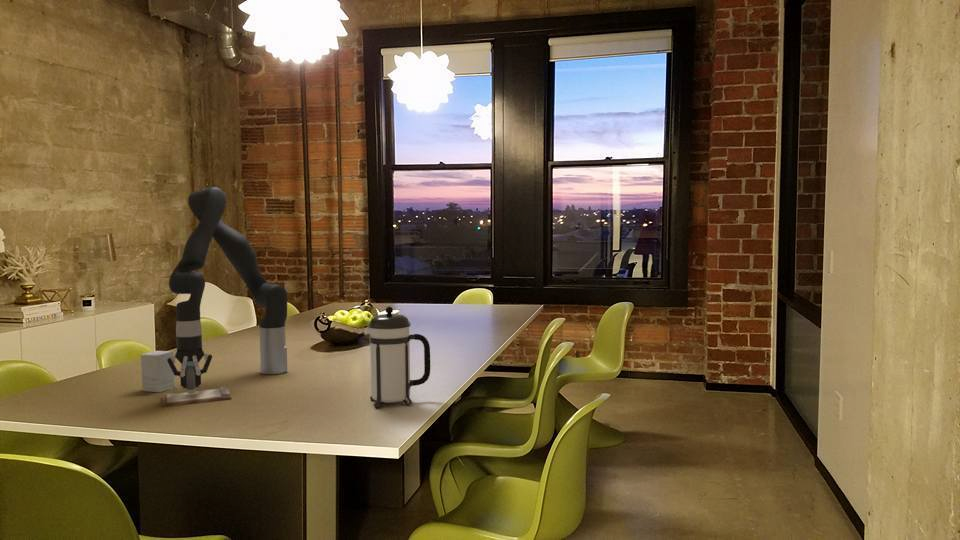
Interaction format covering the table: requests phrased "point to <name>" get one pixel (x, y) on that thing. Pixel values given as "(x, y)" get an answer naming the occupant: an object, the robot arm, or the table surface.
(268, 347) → the robot arm
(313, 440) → the table surface
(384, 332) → the coffee press
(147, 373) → the supplement box
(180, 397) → the writing board
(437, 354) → the table surface
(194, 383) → the marker
